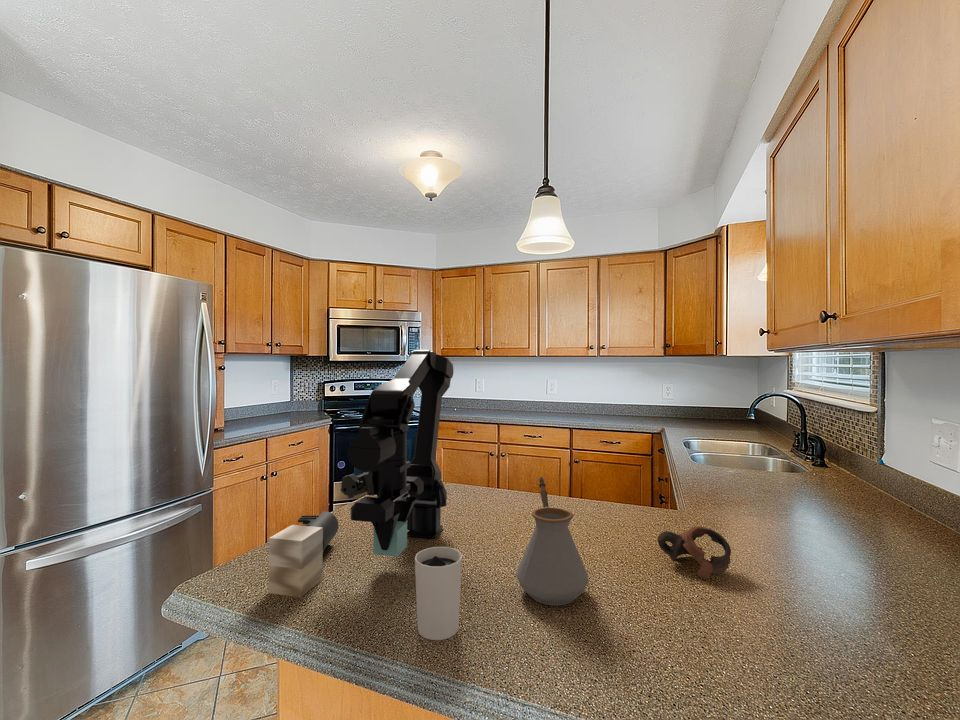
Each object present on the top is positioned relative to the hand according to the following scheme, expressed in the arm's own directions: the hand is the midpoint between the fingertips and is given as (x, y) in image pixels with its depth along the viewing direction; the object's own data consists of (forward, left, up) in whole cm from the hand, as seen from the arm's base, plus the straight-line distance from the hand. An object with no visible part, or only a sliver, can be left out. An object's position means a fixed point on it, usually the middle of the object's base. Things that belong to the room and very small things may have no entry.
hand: (390, 544), depth 80 cm
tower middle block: (+13, +9, 0) cm, 16 cm away
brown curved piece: (-54, -13, -5) cm, 55 cm away
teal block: (0, 0, -1) cm, 1 cm away
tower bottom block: (+13, +9, -5) cm, 16 cm away
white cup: (-14, +15, -5) cm, 21 cm away
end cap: (+18, -3, -5) cm, 19 cm away
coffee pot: (-28, -3, -5) cm, 29 cm away
